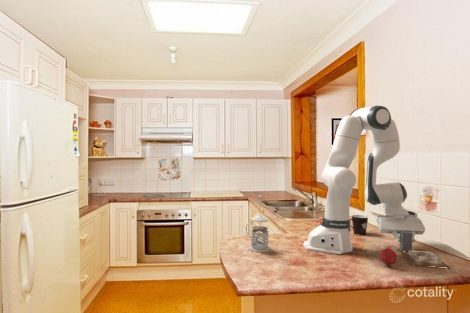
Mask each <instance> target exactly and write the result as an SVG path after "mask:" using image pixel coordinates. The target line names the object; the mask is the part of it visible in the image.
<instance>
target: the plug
mask: <svg viewBox="0 0 470 313" xmlns="http://www.w3.org/2000/svg"><path fill="white" fill-rule="evenodd" d="M399 237H401V239H402V241H401V242H399V250H400V249H401V250H402V251H405V252H404V253H406V252H409V250H413V242H412V233H411V232H410V231H400V234H399ZM401 250H400V251H401ZM402 251H401V252H402Z"/></svg>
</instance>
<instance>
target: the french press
mask: <svg viewBox="0 0 470 313" xmlns="http://www.w3.org/2000/svg"><path fill="white" fill-rule="evenodd" d="M258 199H259V214H261V199H263V195H258ZM251 220H252V221H250V222H248V223H247V224H246V226H245V233H246V235H247V236H248V237H249V238H250V242H251V243H250V244H251V245H250V247H249V250H250V249H251V250H250V251H252V250H253V251H252V252H256V251H257V253H266V252H268V251H270V250H271V248H270V247H269V230H268V226H261V225H257V226H256V225H255V226H253V227H252V231H251V235H250V234H249V233H248V226H249V224H251V225H253V224H254V223H253V222H257V223H258V222H259V223H267V222H269V218H268V217H266V216H263V215H255V216H253V217H251Z"/></svg>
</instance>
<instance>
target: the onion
mask: <svg viewBox="0 0 470 313" xmlns="http://www.w3.org/2000/svg"><path fill="white" fill-rule="evenodd" d="M397 255H398V254H397V253H396V252H395V250H393V249H392V246H390V245H389V246H387V247H386V248H384V249H383V250H381V253H380V257H379V258H380V260H381V262H383V264H384V265H386V266H387V267H391V266H392V265H394V264H396V263H397V262H398V256H397Z"/></svg>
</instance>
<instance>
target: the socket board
mask: <svg viewBox="0 0 470 313" xmlns="http://www.w3.org/2000/svg"><path fill="white" fill-rule="evenodd" d="M402 255H403V256H404V257H405V258H406V259H407V260H408V261H409V262H410V263H411V264H412V265H421V266H420V267H423V266H435V267H447V268H449V269H450V266H449V265H448V264H447V263H445V262H444V261H443V260H442V259H441V258H440V257H439V256H438V255H436V254H435V253H434V252H432V251H423V250H413V249H412V250H409V253H406V252H401V256H402ZM403 256H402V257H403ZM404 257H403V258H404ZM405 258H404V259H405ZM406 259H405V260H406ZM407 260H406V261H407ZM408 261H407V262H408ZM409 262H408V263H409ZM410 263H409V264H410ZM411 264H410V265H411ZM412 265H411V266H412Z"/></svg>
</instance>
